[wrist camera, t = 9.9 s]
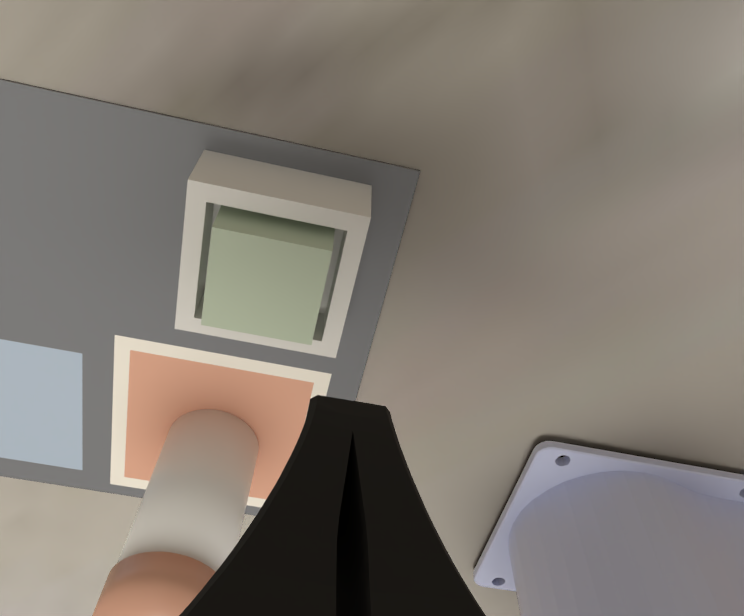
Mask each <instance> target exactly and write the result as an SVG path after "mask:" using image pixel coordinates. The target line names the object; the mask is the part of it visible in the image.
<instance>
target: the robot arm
mask: <svg viewBox="0 0 744 616" xmlns="http://www.w3.org/2000/svg"><path fill="white" fill-rule="evenodd" d="M562 455H566V456H565V457H562V458H557V457H559V456H562ZM473 576H474V581H475V583H476V584H478V585H479V586H483V587H489V588H496V589H503V590H509V591H516V593H517V599H518V604H519V610H520V615H521V616H744V475H743V474H737V473H731V472H726V471H720V470H714V469H709V468H703V467H697V466H692V465H686V464H680V463H675V462H669V461H663V460H657V459H652V458H646V457H640V456H635V455H629V454H623V453H618V452H612V451H606V450H601V449H595V448H589V447H584V446H578V445H572V444H566V443H561V442H555V441H544V442H541V443H539V444H538V445H536V447H535V448H534V449H533V451H532V453H531V455H530V457H529V459H528V461H527V463H526V465H525V468H524V470H523V472H522V474H521V476H520V478H519V480H518V482H517V484H516V486H515V488H514V490H513V492H512V494H511V496H510V498H509V500H508V502H507V504H506V506H505V508H504V510H503V512H502V514H501V516H500V518H499V520H498V522H497V524H496V526H495V528H494V530H493V532H492V534H491V536H490V538H489V540H488V543H487V545H486V547H485V549H484V551H483V553H482V555H481V557H480V559H479V561H478V563H477V565H476V567H475V569H474V572H473ZM179 616H486V615H485V614H484V612H483V611H482V609H481V608H480V606H479V605H478V603H477V602H476V600H475V599H474V597H473V595H472V594H471V592H470V590H469V589H468V587H467V585H466V584H465V582H464V581H463V579H462V577H461V576H460V574H459V572H458V570H457V569H456V567H455V565H454V563H453V561H452V560H451V558H450V556H449V554H448V552H447V551H446V549H445V547H444V545H443V543H442V541H441V539H440V537H439V535H438V533H437V531H436V529H435V527H434V525H433V523H432V521H431V519H430V517H429V515H428V513H427V510H426V508H425V506H424V504H423V501H422V499H421V497H420V495H419V492H418V490H417V488H416V485H415V483H414V481H413V478H412V476H411V473H410V471H409V468H408V466H407V463H406V461H405V458H404V455H403V452H402V450H401V447H400V444H399V441H398V438H397V435H396V432H395V429H394V426H393V422H392V419H391V415H390V412H389V410H388V409H387V408H386V406H381V405H375V404H369V403H363V402H357V401H351V400H345V399H339V398H333V397H327V396H321V395H317V396H315V397H313V398H311V399H310V402H309V407H308V411H307V416H306V420H305V423H304V426H303V429H302V431H301V434H300V436H299V438H298V441H297V443H296V445H295V448H294V450H293V452H292V454H291V456H290V458H289V460H288V462H287V463H286V465H285V467H284V469H283V471H282V473H281V475H280V477H279V479H278V481H277V482H276V484H275V486H274V488H273V489H272V491H271V492H270V494H269V496H268V497H267V499H266V501H265V502H264V504H263V505H262V507H261V509H260V510H259V512H258V514H257V515H256V517H255V518H254V520H253V521H252V523H251V524H250V526H249V527H248V529H247V530H246V532H245V533H244V535H243V536H242V537H241V539H240V540H239V542H238V543H237V544H236V546H235V547H234V549H233V550H232V551H231V553H230V554H229V555H228V557H227V558H226V559H225V561H224V562H223V563H222V565H221V566H220V567H219V568H218V570H217V571H216V572H215V573H214V575H213V576H212V577H211V578H210V580H209V581H208V582H207V583H206V585H205V586H204V587H203V588H202V590H201V591H200V592H199V593H198V594H197V596H196V597H195V598H194V599H193V600H192V602H191V603H190V604H189V605H188V606H187V607H186V608H185V610H184V611H183V612H182V613H181V614H180V615H179Z"/></svg>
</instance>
